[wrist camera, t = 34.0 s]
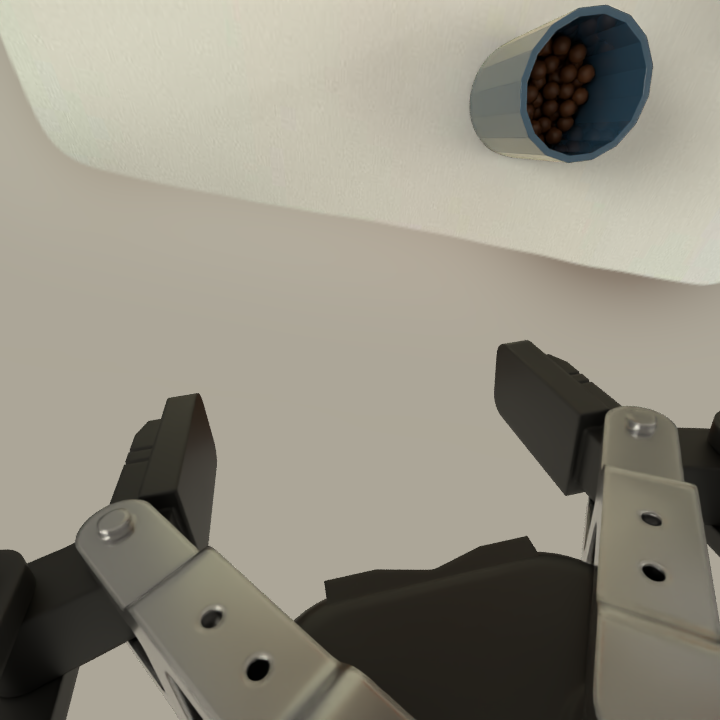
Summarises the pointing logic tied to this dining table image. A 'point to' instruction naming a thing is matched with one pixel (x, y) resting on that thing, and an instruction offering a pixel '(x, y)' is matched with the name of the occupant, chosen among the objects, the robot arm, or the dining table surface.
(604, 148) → the cup
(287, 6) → the dining table surface
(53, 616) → the robot arm
